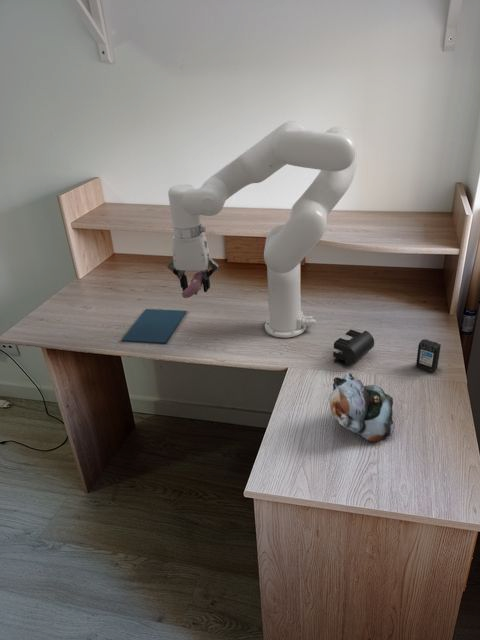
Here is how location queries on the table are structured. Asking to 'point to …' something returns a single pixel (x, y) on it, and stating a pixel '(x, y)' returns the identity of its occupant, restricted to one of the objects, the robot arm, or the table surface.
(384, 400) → the lucky cat figurine
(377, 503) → the table surface
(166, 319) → the rubber mat
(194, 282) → the video game controller
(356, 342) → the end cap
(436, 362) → the ink cartridge
